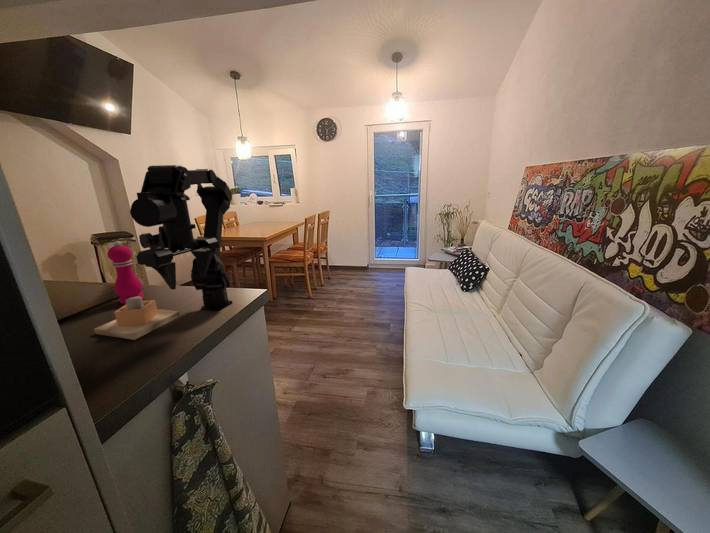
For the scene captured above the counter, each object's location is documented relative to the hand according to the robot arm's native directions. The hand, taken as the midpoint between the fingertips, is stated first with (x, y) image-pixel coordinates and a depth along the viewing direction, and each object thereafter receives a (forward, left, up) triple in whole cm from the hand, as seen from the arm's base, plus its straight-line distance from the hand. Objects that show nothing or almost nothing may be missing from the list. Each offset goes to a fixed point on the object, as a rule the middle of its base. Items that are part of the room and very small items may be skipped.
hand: (188, 282), depth 70 cm
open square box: (+3, -16, -10) cm, 19 cm away
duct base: (+3, -16, -12) cm, 20 cm away
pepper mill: (-10, -36, -12) cm, 39 cm away
